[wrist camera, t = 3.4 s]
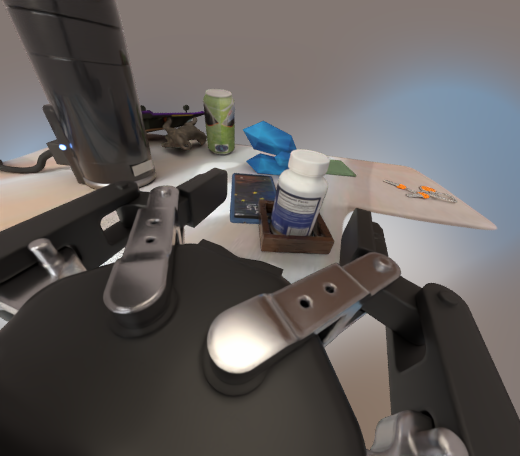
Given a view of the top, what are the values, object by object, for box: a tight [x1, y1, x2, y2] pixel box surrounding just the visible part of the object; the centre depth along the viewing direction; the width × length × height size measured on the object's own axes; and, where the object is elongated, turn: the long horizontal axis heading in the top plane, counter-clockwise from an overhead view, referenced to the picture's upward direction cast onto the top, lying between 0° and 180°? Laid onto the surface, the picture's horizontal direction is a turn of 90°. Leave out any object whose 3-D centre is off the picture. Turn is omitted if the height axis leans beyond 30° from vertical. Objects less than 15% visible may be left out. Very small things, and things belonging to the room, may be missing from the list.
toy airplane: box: [140, 105, 205, 133], centre depth 45 cm, size 24×26×5 cm
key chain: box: [384, 180, 457, 202], centre depth 41 cm, size 13×7×1 cm, turn 80°
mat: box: [326, 160, 356, 177], centre depth 47 cm, size 10×9×1 cm
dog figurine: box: [161, 117, 207, 150], centre depth 44 cm, size 12×6×7 cm
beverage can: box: [203, 89, 235, 155], centre depth 42 cm, size 6×7×12 cm
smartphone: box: [230, 173, 276, 224], centre depth 32 cm, size 8×1×15 cm
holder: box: [258, 200, 334, 254], centre depth 25 cm, size 8×8×2 cm
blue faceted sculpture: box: [243, 121, 297, 175], centre depth 38 cm, size 7×9×12 cm
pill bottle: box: [270, 149, 330, 236], centre depth 23 cm, size 5×5×10 cm
